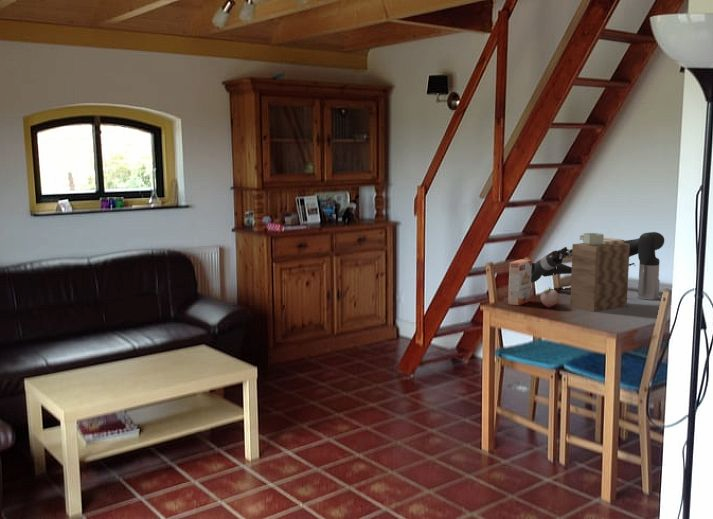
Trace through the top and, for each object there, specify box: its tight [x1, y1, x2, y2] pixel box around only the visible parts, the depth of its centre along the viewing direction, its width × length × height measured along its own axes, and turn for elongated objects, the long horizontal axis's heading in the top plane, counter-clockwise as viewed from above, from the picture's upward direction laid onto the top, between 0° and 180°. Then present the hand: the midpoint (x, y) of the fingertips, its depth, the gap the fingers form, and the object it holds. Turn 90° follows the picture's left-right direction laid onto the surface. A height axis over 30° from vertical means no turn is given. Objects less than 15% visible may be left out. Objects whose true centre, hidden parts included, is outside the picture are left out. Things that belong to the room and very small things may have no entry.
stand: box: [569, 242, 630, 313], centre depth 345 cm, size 23×14×30 cm, turn 121°
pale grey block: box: [582, 232, 605, 246], centre depth 340 cm, size 9×9×5 cm
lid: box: [579, 234, 625, 245], centre depth 351 cm, size 10×22×2 cm, turn 31°
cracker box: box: [507, 258, 533, 307], centre depth 354 cm, size 14×6×21 cm, turn 143°
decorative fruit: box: [539, 286, 560, 309], centre depth 344 cm, size 9×8×10 cm
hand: (572, 248), depth 366 cm, fingers open, 8 cm apart
